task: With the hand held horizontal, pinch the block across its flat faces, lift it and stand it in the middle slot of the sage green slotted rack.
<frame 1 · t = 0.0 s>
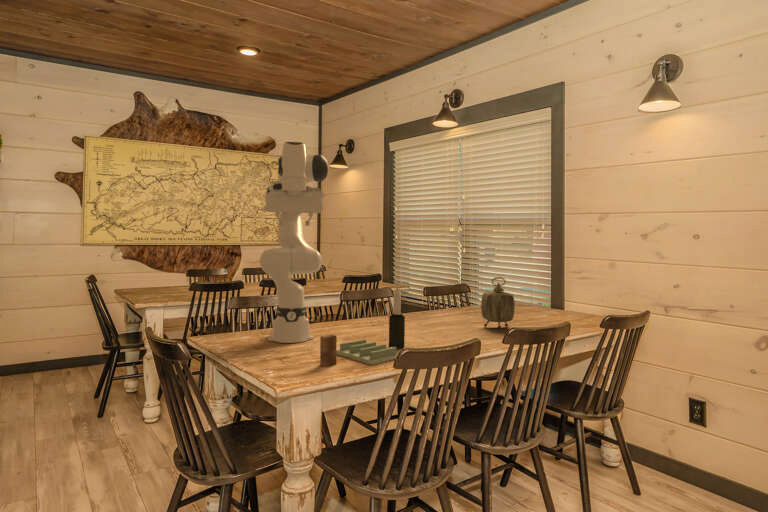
hand: (294, 225, 174), 48 cm above the table, tool pointing down, fingers open, 8 cm apart
tabletop clock: (497, 328, 237), on the table
candle: (396, 347, 194), on the table
rack: (367, 356, 179), on the table
block: (328, 364, 167), on the table
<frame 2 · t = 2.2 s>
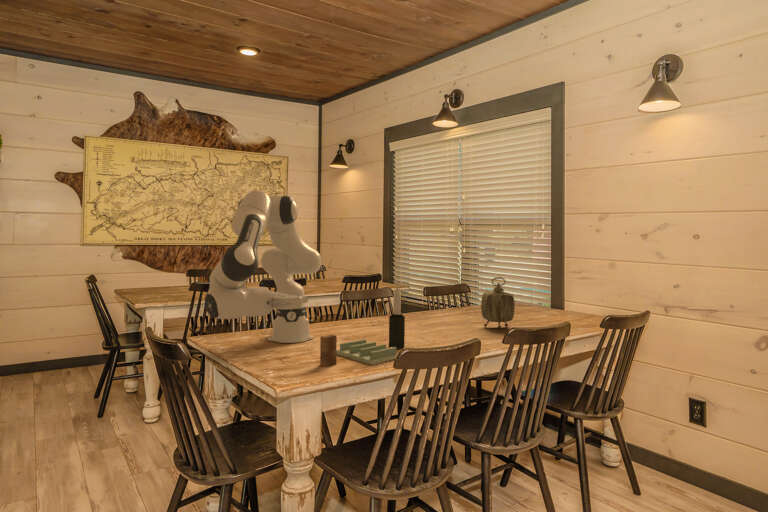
hand: (298, 297, 158), 24 cm above the table, tool horizontal, fingers open, 8 cm apart
nothing on the table moved.
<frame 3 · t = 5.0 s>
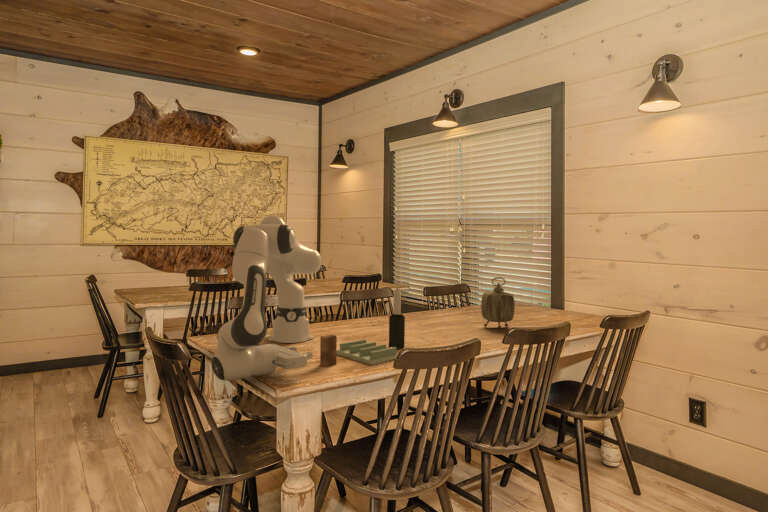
hand: (303, 352, 160), 6 cm above the table, tool horizontal, fingers open, 8 cm apart
nothing on the table moved.
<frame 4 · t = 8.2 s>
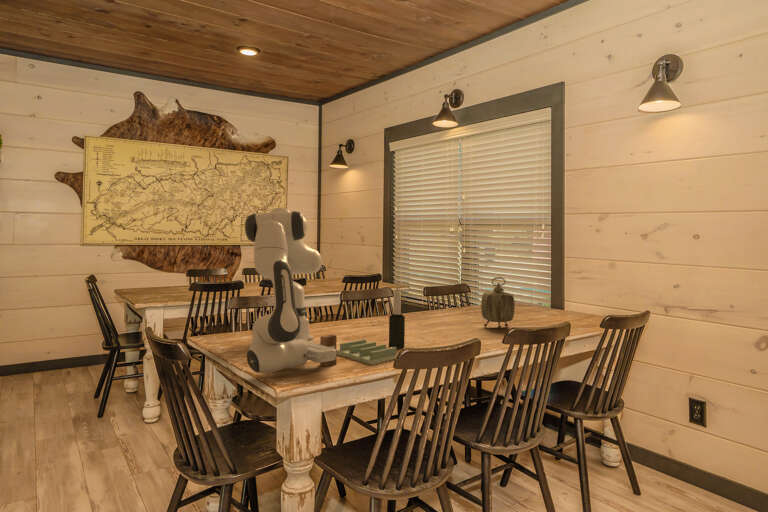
hand: (330, 346, 168), 6 cm above the table, tool horizontal, fingers closed on block, 2 cm apart
block: (328, 364, 167), on the table, touching gripper
everything else where it was.
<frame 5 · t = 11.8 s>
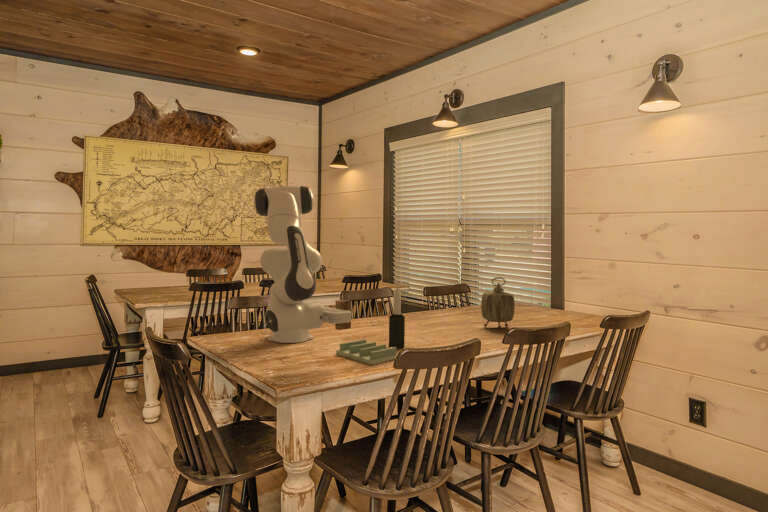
hand: (345, 311, 172), 18 cm above the table, tool horizontal, fingers closed on block, 2 cm apart
block: (343, 328, 171), point 12 cm above the table, touching gripper
everything else where it was.
when the fingers open (9 cm above the table, at t = 15.3 s): block drops 1 cm, resting on rack.
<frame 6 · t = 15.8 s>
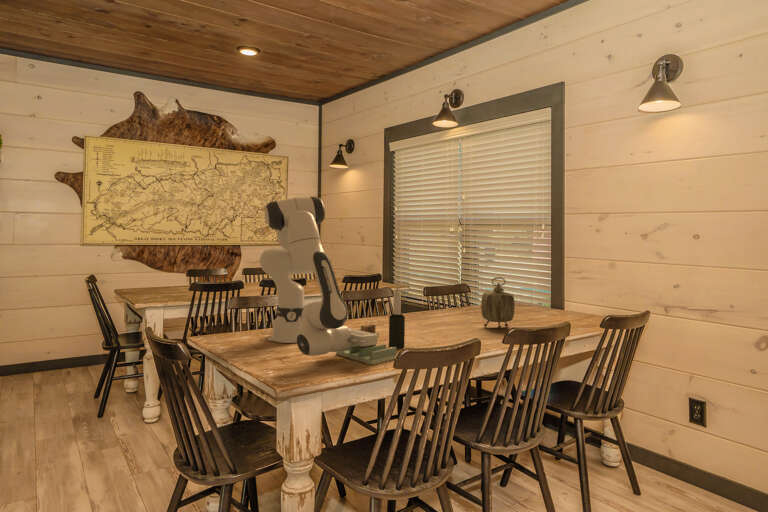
hand: (369, 333, 180), 9 cm above the table, tool horizontal, fingers open, 7 cm apart
block: (367, 352, 179), point 1 cm above the table, touching rack
everything else where it was.
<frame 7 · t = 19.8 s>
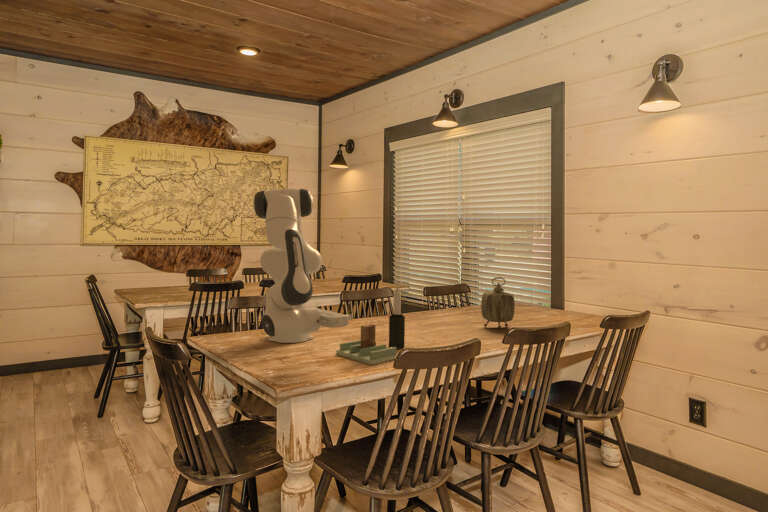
hand: (342, 314, 171), 17 cm above the table, tool horizontal, fingers open, 8 cm apart
nothing on the table moved.
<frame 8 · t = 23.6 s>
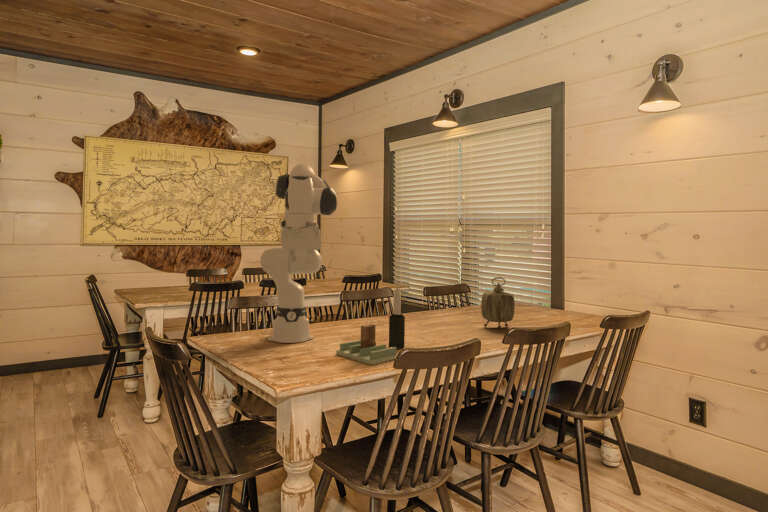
hand: (300, 262, 168), 35 cm above the table, tool pointing down, fingers open, 8 cm apart
nothing on the table moved.
at the end: block 0.0 cm off-centre on the rack, point 1.5 cm above the rack's base; block tilted 0°; the gripper is holding nothing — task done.
